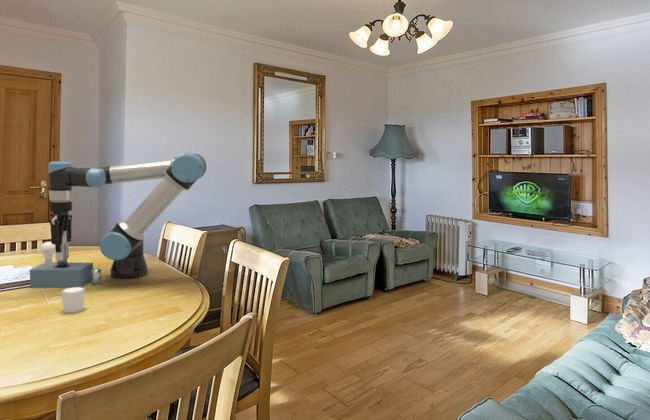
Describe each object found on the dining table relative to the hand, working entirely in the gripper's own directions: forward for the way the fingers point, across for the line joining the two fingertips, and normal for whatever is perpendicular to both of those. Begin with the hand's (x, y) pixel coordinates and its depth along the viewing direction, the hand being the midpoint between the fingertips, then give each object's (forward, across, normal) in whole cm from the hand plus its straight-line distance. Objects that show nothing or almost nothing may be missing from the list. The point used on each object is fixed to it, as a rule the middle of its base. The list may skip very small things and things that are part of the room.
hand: (62, 258), depth 163 cm
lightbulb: (+10, -28, -19) cm, 35 cm away
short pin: (+10, +1, +13) cm, 17 cm away
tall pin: (+5, 0, 0) cm, 5 cm away
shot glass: (+10, +30, +17) cm, 36 cm away
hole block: (+10, 0, 0) cm, 10 cm away
